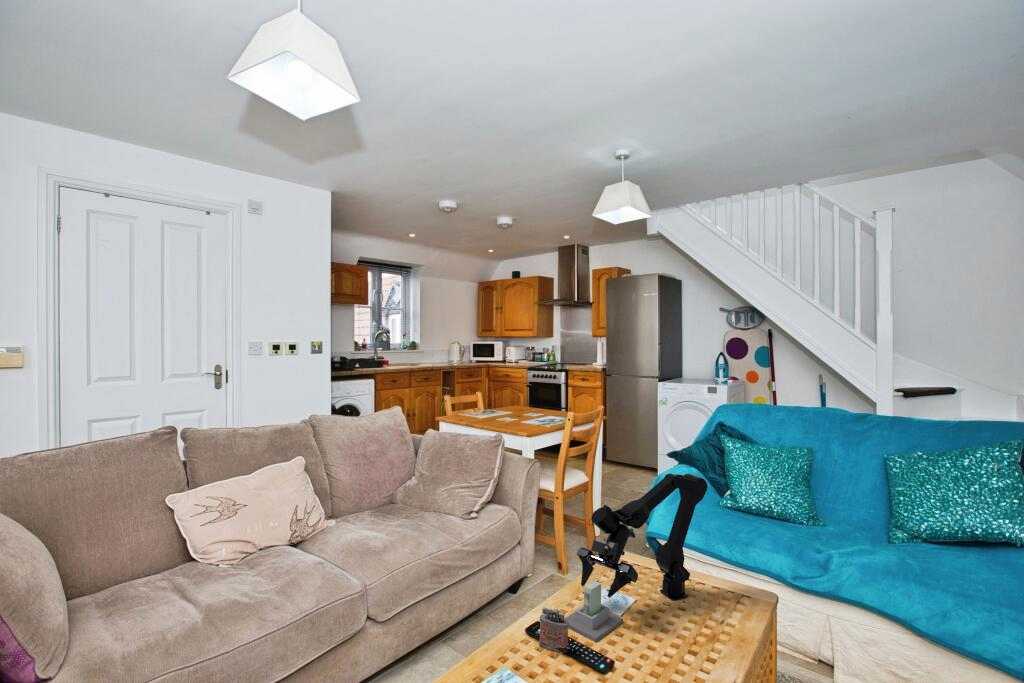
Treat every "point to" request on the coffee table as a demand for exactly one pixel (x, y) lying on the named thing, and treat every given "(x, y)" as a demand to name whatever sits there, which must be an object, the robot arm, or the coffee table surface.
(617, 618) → the grey socket base
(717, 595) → the coffee table surface
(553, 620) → the lighter
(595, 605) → the pale green rectangular block
